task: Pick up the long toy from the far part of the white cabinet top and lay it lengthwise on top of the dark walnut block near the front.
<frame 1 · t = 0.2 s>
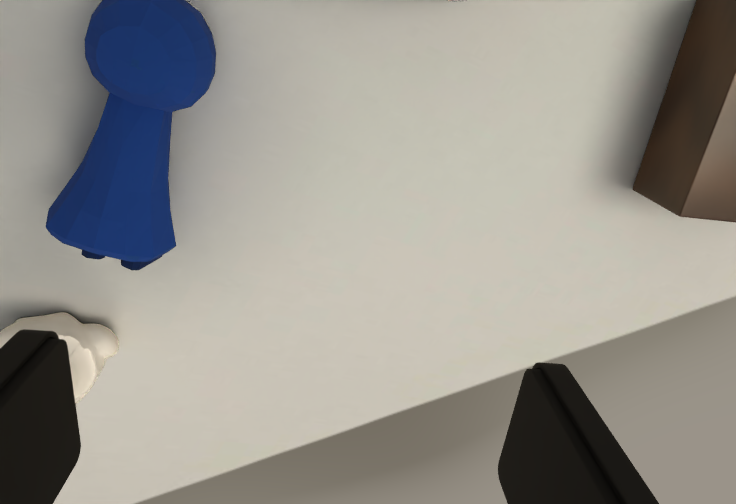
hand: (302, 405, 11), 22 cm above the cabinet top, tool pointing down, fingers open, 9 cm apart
toy: (150, 128, 30), on the cabinet top
rabbit figurine: (38, 338, 35), on the cabinet top
walnut block: (731, 109, 31), on the cabinet top
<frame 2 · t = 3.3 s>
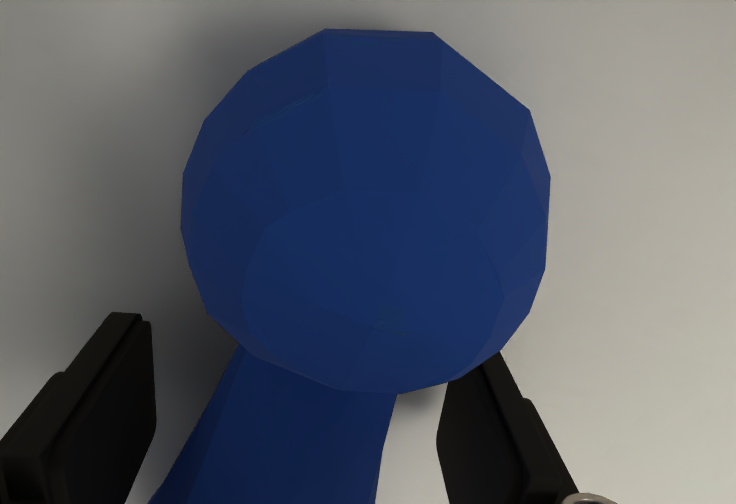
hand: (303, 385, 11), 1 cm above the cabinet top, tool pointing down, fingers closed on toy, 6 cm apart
toy: (302, 351, 13), on the cabinet top, touching gripper
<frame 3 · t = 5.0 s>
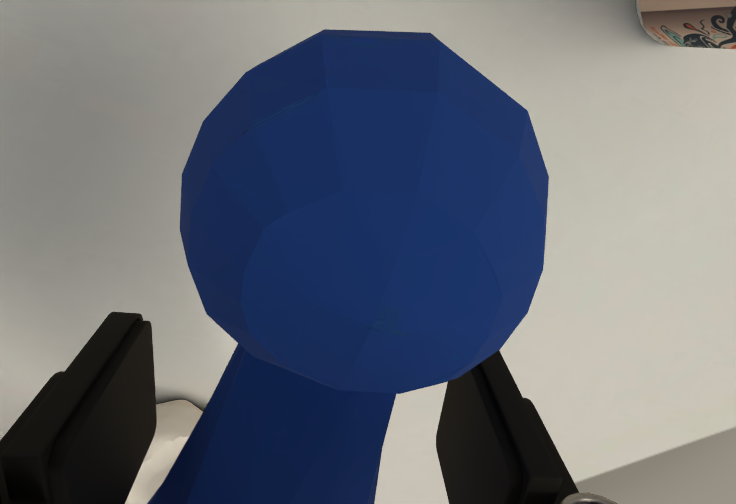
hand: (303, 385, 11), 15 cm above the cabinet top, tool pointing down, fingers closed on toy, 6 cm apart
toy: (302, 351, 13), point 14 cm above the cabinet top, touching gripper
rabbit figurine: (148, 427, 30), on the cabinet top
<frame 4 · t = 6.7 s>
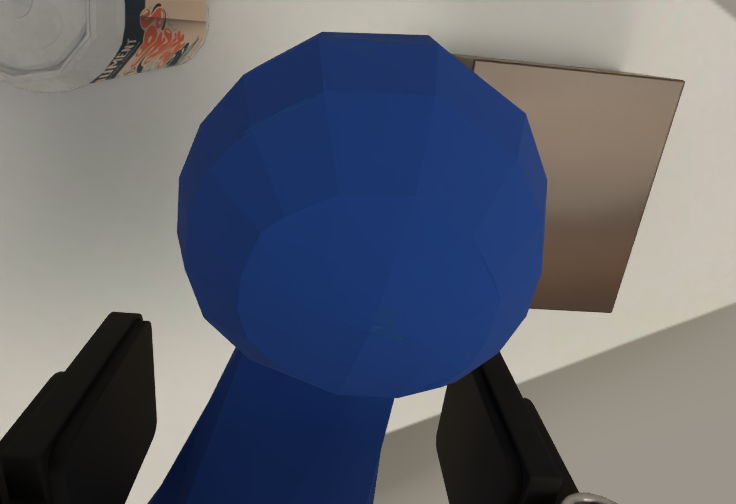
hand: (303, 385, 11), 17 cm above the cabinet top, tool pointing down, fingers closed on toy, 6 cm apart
beer can: (158, 11, 24), on the cabinet top
toy: (300, 353, 13), point 16 cm above the cabinet top, touching gripper
walnut block: (513, 172, 28), on the cabinet top
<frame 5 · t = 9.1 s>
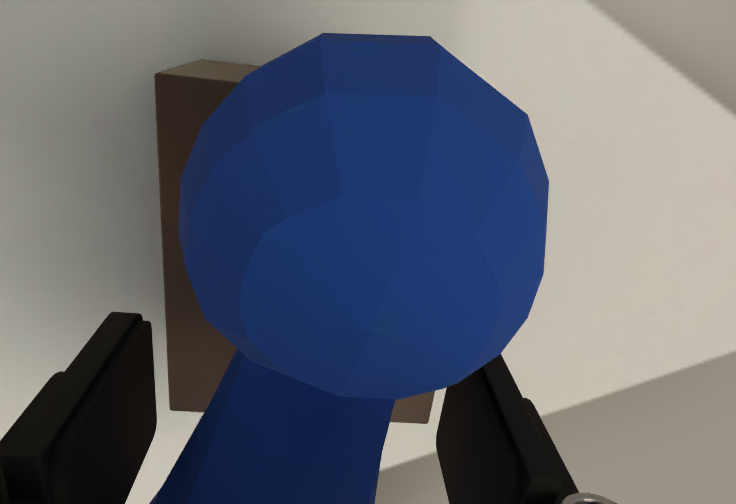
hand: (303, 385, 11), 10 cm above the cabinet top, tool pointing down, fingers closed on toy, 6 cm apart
toy: (301, 354, 13), point 9 cm above the cabinet top, touching gripper
walnut block: (318, 220, 20), on the cabinet top
when the fingers open (6 cm above the cabinet top, at t = 10.6 s): toy stays where it is, resting on walnut block.
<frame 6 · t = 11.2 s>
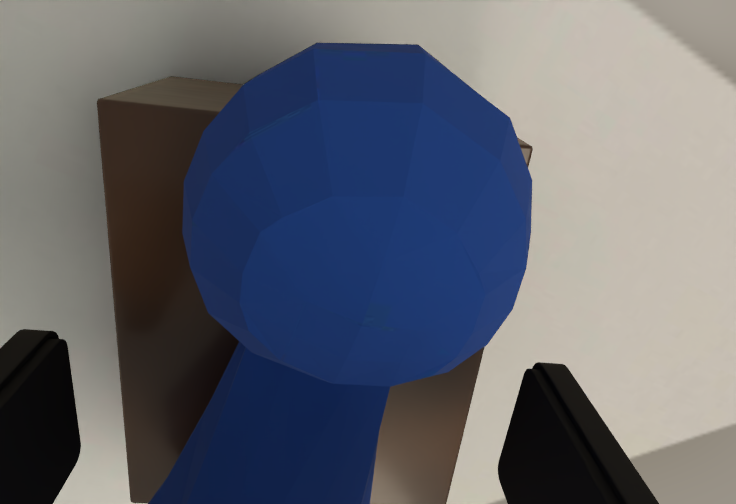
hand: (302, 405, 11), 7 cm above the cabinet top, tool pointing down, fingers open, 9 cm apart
toy: (301, 349, 13), point 5 cm above the cabinet top, touching walnut block
walnut block: (312, 263, 17), on the cabinet top, touching toy
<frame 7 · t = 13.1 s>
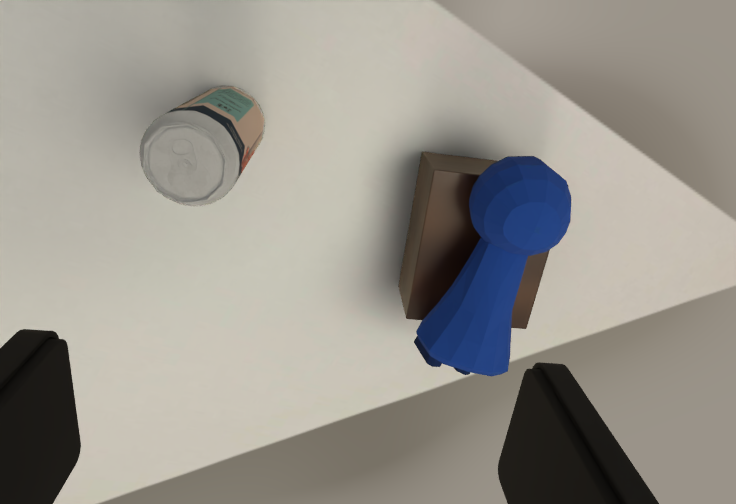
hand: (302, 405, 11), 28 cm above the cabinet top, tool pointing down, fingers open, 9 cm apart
beer can: (231, 120, 36), on the cabinet top
toy: (481, 256, 36), point 5 cm above the cabinet top, touching walnut block
walnut block: (466, 228, 40), on the cabinet top, touching toy
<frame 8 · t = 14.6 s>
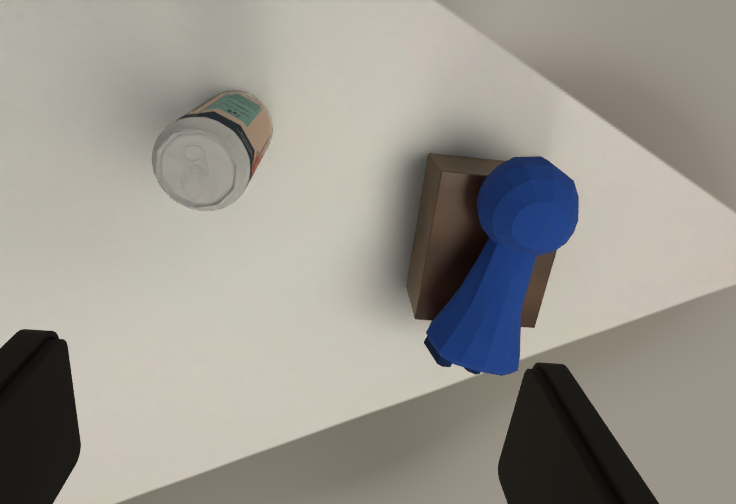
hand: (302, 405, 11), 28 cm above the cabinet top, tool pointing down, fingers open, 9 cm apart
beer can: (239, 125, 36), on the cabinet top
toy: (489, 256, 36), point 5 cm above the cabinet top, touching walnut block
walnut block: (473, 228, 40), on the cabinet top, touching toy
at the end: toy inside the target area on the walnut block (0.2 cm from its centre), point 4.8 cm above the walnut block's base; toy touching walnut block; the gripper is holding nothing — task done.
